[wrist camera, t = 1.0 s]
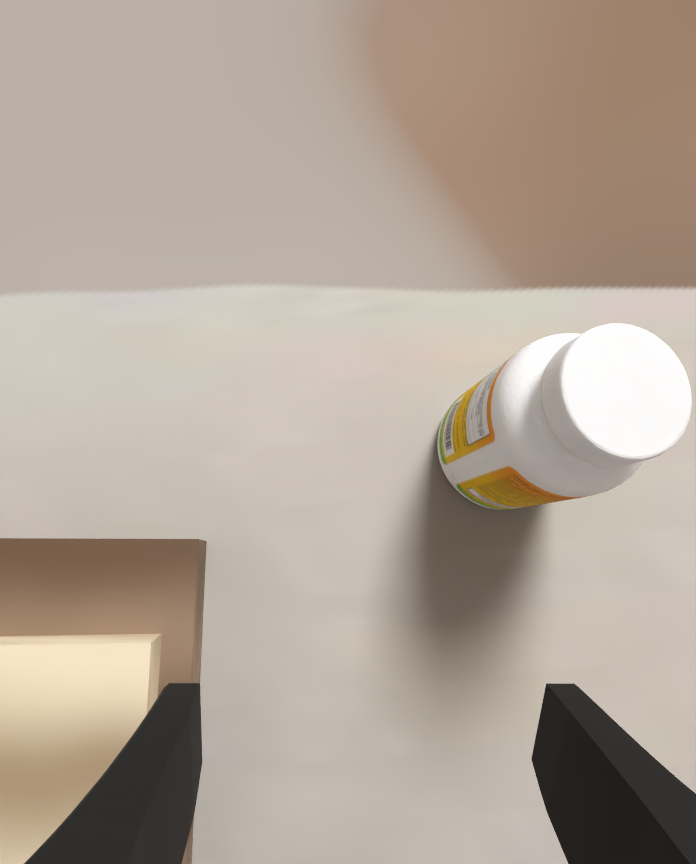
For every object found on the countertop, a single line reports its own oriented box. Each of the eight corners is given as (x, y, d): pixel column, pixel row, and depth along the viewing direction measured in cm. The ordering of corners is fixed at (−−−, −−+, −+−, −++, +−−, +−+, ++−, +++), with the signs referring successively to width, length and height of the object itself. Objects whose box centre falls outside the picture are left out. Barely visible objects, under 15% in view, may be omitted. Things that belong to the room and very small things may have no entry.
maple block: (144, 916, 18) (131, 960, 16) (-76, 933, 17) (-119, 982, 15) (161, 633, 20) (150, 642, 18) (-40, 637, 19) (-74, 646, 17)
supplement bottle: (575, 474, 26) (752, 431, 17) (474, 533, 25) (603, 522, 16) (513, 367, 27) (651, 269, 18) (411, 421, 26) (501, 345, 16)
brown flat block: (187, 953, 21) (174, 1031, 18) (-133, 982, 19) (-215, 1073, 16) (206, 541, 24) (197, 539, 20) (-73, 540, 22) (-132, 537, 19)
